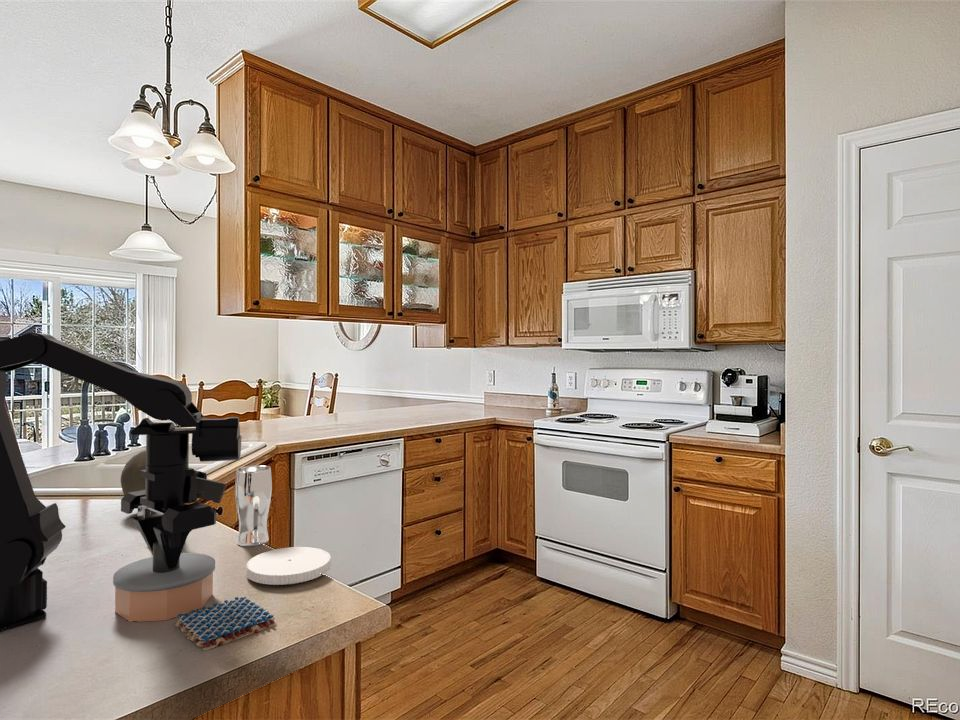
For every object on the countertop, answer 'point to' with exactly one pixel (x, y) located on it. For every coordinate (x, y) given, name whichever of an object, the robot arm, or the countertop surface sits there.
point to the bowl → (163, 601)
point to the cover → (163, 572)
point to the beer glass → (253, 504)
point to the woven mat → (225, 622)
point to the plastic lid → (288, 565)
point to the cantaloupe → (134, 474)
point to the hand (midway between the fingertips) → (166, 564)
